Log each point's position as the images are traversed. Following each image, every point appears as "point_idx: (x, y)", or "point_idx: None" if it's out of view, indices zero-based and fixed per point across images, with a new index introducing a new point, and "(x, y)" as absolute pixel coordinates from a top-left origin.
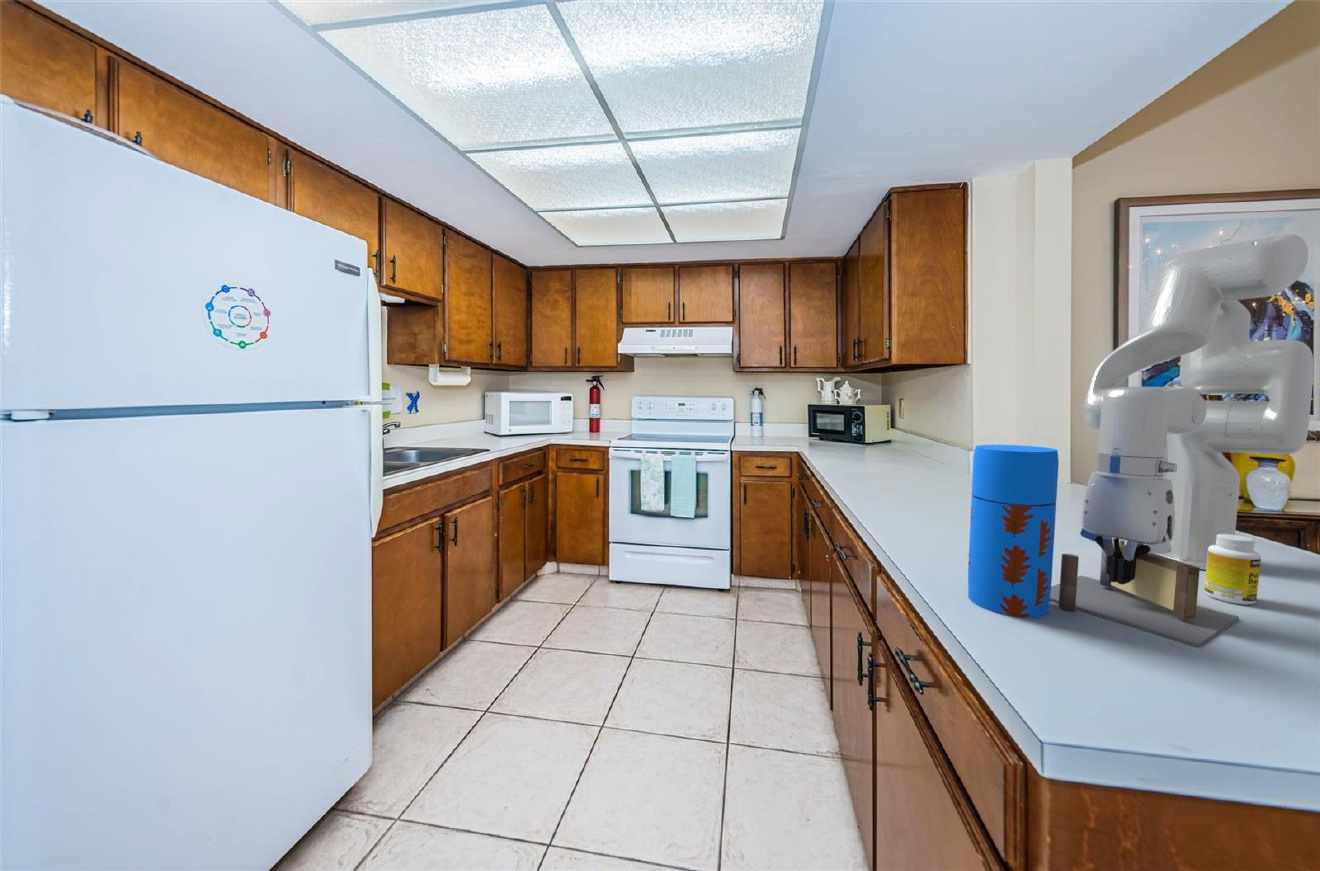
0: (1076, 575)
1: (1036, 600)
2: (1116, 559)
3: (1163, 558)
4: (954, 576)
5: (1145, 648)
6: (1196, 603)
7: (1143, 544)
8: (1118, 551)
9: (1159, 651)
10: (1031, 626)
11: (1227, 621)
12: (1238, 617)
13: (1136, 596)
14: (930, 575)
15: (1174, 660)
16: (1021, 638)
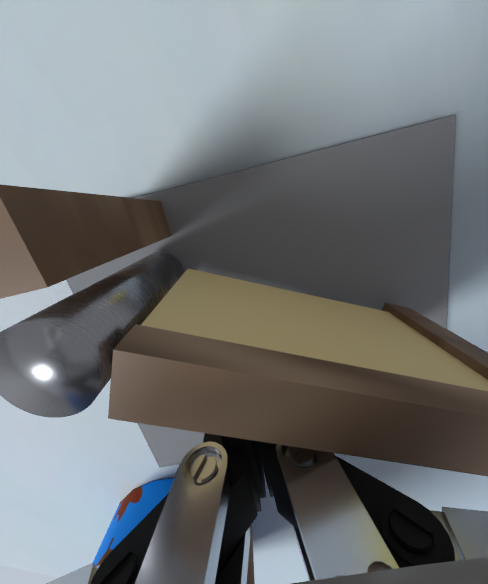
0: (253, 569)
1: None
2: (262, 494)
3: (452, 441)
4: (27, 513)
5: (391, 479)
6: (444, 329)
7: (386, 557)
8: (244, 505)
9: (407, 471)
10: (270, 549)
11: (445, 207)
12: (453, 117)
13: (238, 251)
14: (20, 544)
15: (431, 479)
16: (293, 580)
